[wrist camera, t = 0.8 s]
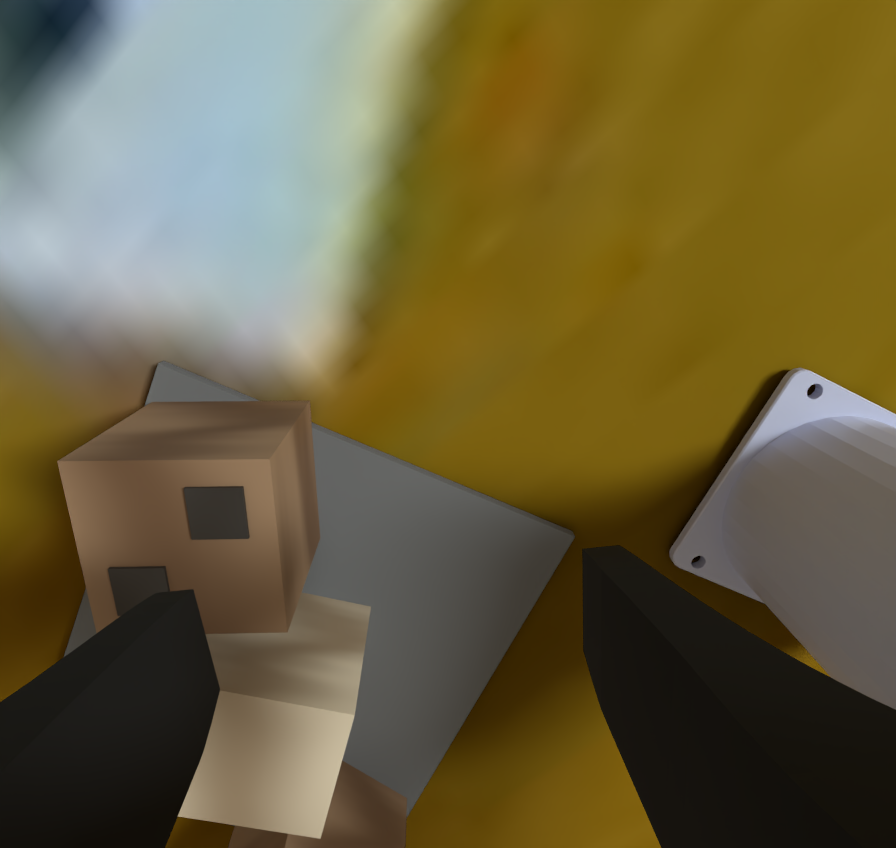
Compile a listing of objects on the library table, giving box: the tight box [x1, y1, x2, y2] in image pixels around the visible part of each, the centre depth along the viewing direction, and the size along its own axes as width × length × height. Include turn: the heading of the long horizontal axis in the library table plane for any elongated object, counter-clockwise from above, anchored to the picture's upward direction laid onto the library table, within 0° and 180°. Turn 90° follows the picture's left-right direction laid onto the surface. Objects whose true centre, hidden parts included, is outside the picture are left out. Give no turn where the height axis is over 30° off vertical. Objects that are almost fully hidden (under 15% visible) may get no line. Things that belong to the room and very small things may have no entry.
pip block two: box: [57, 401, 320, 634], centre depth 17 cm, size 5×5×5 cm
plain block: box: [178, 592, 371, 839], centre depth 19 cm, size 5×5×5 cm
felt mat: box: [63, 361, 575, 826], centre depth 22 cm, size 15×18×1 cm
